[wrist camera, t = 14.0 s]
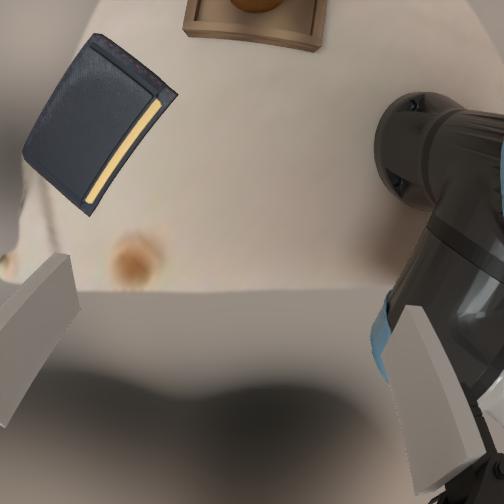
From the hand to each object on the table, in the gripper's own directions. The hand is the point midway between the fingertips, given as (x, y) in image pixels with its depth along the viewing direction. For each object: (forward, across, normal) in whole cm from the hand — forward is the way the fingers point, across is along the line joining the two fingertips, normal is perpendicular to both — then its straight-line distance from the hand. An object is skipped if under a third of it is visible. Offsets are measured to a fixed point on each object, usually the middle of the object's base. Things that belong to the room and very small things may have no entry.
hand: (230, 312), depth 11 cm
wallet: (+26, -22, +3) cm, 34 cm away
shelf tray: (+28, -3, +20) cm, 34 cm away
